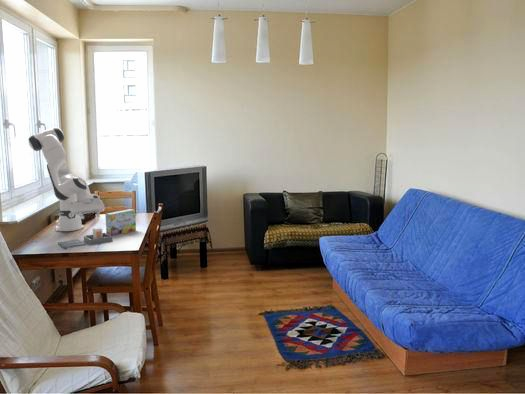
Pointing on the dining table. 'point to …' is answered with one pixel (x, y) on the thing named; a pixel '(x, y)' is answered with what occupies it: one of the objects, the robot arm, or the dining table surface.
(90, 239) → the parts bin
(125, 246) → the dining table surface
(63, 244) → the blue-grey board
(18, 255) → the dining table surface
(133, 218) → the snack box
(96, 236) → the cream carton
